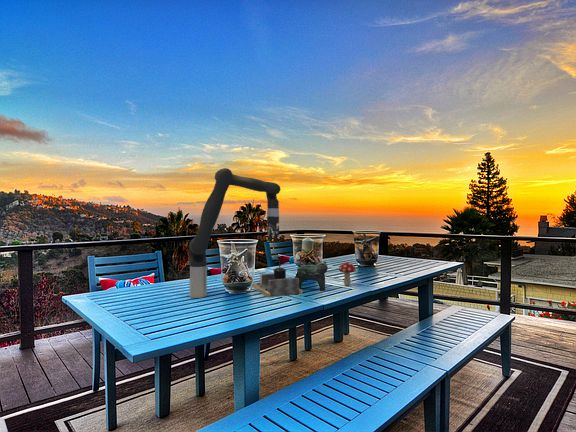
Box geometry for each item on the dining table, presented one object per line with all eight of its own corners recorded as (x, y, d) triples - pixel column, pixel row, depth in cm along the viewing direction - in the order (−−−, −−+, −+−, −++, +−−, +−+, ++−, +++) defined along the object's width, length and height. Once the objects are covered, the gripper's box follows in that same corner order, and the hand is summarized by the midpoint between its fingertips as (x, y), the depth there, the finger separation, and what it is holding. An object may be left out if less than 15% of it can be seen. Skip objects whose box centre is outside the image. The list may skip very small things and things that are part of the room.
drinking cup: (281, 294, 198) (281, 260, 197) (270, 292, 202) (270, 259, 201) (288, 291, 204) (288, 258, 204) (277, 290, 208) (278, 257, 208)
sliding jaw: (261, 289, 209) (261, 274, 209) (260, 288, 212) (260, 273, 212) (285, 287, 215) (285, 272, 215) (283, 286, 218) (284, 272, 218)
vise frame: (266, 297, 191) (266, 281, 191) (251, 286, 220) (251, 272, 220) (302, 293, 200) (302, 278, 199) (282, 283, 228) (282, 269, 228)
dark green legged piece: (327, 289, 211) (327, 257, 211) (327, 291, 205) (327, 258, 204) (295, 288, 213) (295, 256, 213) (294, 291, 207) (294, 258, 206)
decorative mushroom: (359, 286, 220) (359, 263, 220) (347, 288, 213) (347, 264, 213) (347, 283, 229) (347, 260, 229) (335, 285, 223) (335, 262, 222)
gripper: (263, 215, 216) (263, 241, 216) (271, 215, 203) (271, 243, 203) (274, 215, 219) (274, 241, 219) (283, 215, 206) (283, 242, 206)
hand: (272, 242), depth 211 cm, fingers open, 8 cm apart
